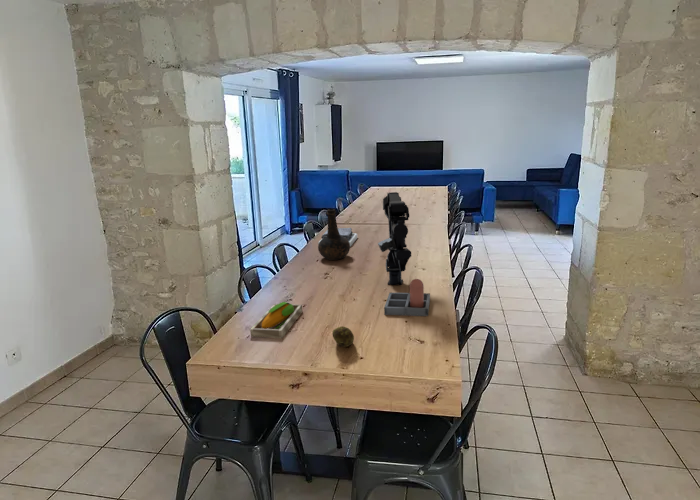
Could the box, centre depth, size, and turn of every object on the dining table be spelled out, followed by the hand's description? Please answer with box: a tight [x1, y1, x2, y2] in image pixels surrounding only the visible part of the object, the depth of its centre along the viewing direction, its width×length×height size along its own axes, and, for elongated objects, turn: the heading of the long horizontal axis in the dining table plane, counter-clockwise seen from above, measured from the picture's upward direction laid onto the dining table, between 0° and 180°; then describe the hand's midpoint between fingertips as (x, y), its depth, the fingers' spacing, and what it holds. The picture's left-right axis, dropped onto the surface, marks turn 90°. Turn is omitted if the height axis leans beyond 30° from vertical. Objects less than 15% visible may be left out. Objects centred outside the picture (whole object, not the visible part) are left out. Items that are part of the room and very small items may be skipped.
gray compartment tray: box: [383, 292, 431, 317], centre depth 197 cm, size 17×17×3 cm
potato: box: [332, 326, 355, 348], centre depth 166 cm, size 8×13×8 cm, turn 168°
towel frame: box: [317, 232, 358, 248], centre depth 306 cm, size 23×20×3 cm
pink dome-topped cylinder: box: [409, 278, 425, 308], centre depth 190 cm, size 5×5×13 cm
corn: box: [261, 301, 294, 329], centre depth 186 cm, size 7×8×20 cm
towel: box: [321, 227, 353, 241], centre depth 306 cm, size 15×18×8 cm
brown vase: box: [317, 208, 351, 261], centre depth 269 cm, size 18×18×28 cm
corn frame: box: [249, 303, 303, 339], centre depth 187 cm, size 25×12×3 cm, turn 168°
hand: (399, 268), depth 205 cm, fingers open, 9 cm apart
